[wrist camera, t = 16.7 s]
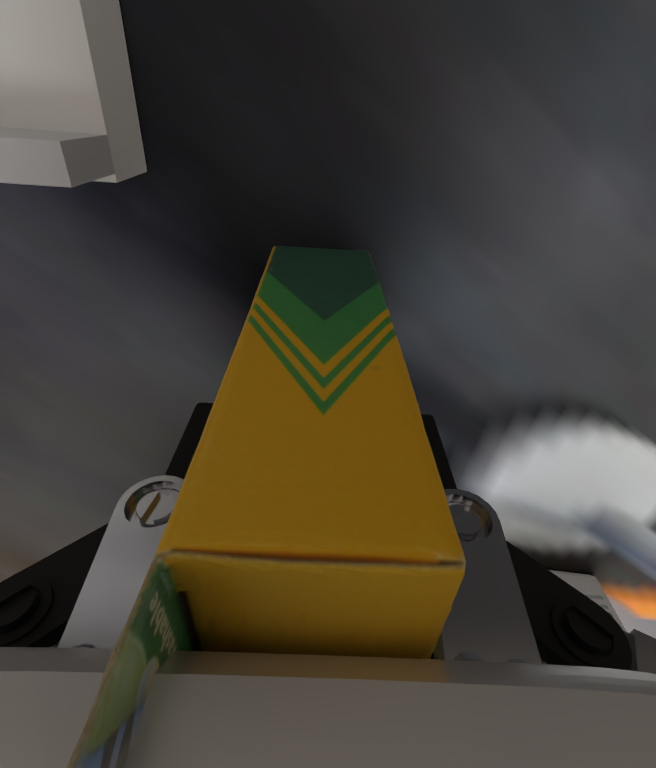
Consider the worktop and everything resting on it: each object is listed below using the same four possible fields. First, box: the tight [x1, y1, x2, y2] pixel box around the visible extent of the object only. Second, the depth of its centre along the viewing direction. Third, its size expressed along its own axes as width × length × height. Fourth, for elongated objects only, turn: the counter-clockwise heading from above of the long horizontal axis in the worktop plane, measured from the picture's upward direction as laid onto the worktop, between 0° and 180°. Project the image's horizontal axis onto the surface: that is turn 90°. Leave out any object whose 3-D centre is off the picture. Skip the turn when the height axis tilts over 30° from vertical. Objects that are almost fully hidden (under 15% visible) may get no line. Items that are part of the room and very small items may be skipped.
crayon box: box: [67, 246, 466, 768], centre depth 9 cm, size 7×3×12 cm, turn 177°
